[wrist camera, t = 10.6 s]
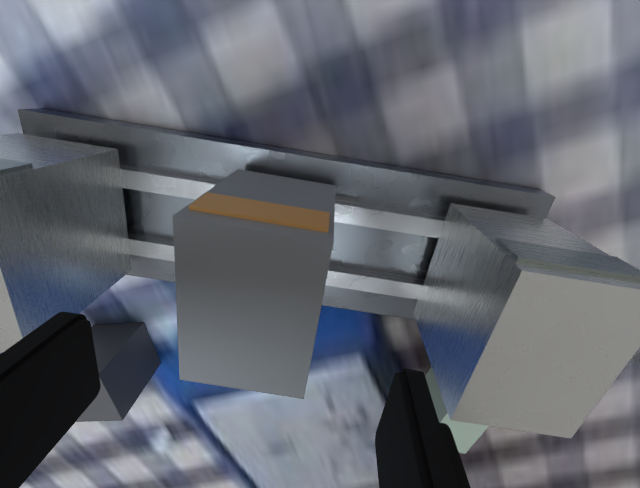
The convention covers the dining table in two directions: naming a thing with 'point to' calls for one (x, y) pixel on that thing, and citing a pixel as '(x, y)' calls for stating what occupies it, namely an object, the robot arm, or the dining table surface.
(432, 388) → the block
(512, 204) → the rail base
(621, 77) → the dining table surface
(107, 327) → the block
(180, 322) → the block
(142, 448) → the dining table surface
